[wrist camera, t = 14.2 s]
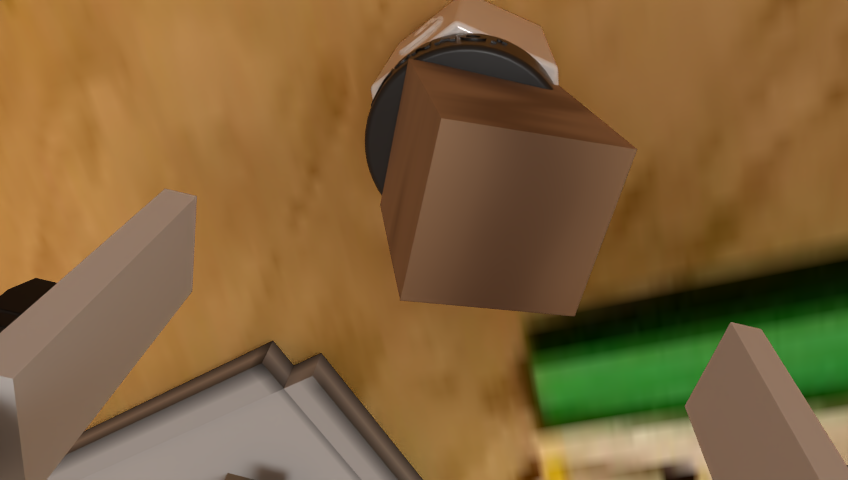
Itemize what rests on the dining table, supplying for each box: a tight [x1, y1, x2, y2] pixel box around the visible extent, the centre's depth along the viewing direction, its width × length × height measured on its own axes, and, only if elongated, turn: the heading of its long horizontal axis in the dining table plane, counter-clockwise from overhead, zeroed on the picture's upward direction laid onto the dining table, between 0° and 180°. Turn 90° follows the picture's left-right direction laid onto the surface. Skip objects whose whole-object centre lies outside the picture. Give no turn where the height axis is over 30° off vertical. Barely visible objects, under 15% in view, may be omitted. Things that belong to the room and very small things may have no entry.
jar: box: [365, 0, 559, 195], centre depth 31 cm, size 9×8×12 cm
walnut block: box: [380, 59, 637, 316], centre depth 23 cm, size 6×6×7 cm
